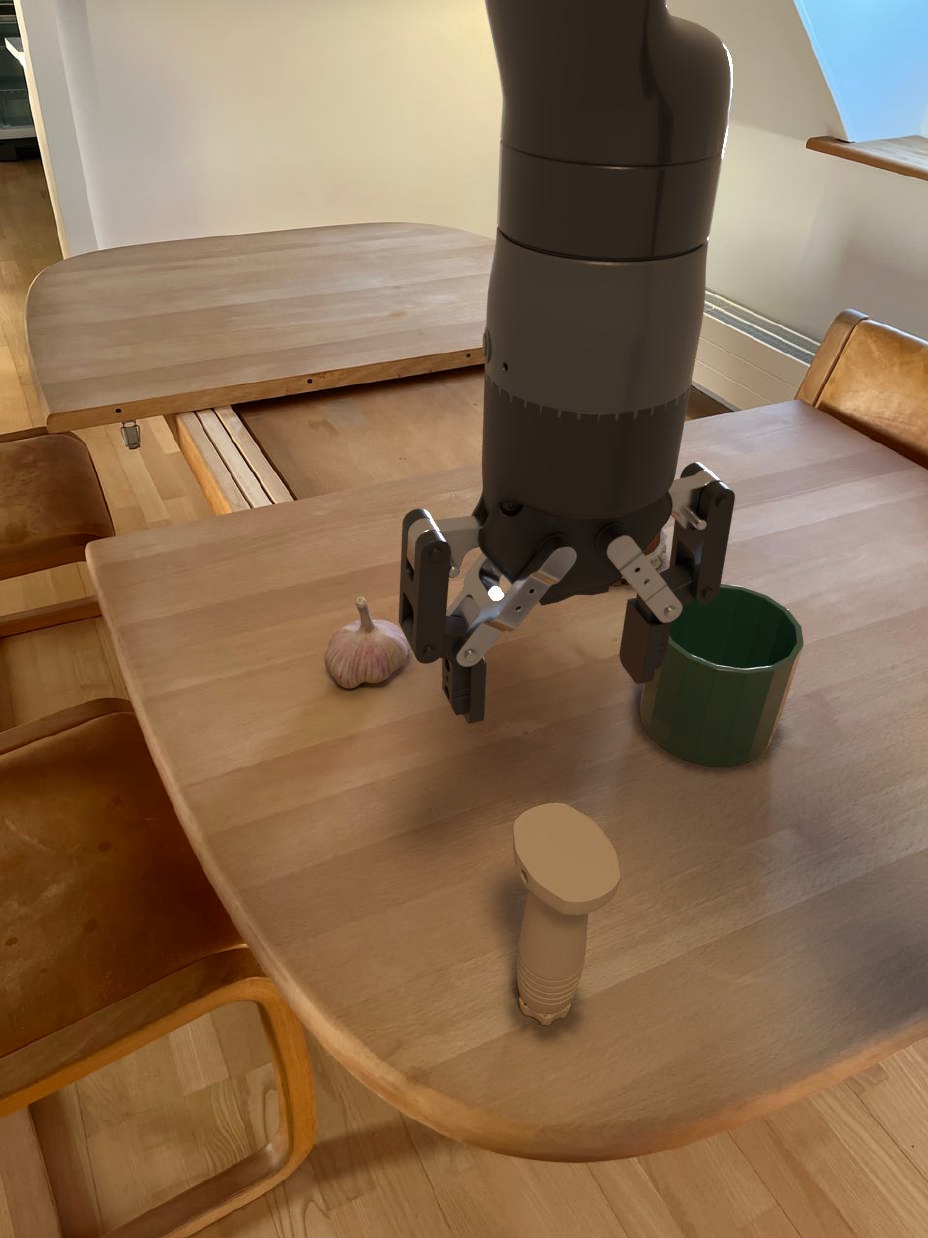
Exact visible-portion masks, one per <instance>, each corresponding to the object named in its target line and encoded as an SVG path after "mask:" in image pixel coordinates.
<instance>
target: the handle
mask: <svg viewBox="0 0 928 1238" xmlns="http://www.w3.org/2000/svg"><path fill="white" fill-rule="evenodd" d="M512 849H513V850H512V851H513V858H514V864H515V867H516V870H517V872H518V875H519V878H520V880H521V882H522V884H523V886H524V887H525V888H526V889H527V890H528V893H527V899H526V904H525V909H524V912H523V918H522V922H521V927H520V932H519V937H518V942H517V952H516V980H517V981H516V982H517V987H518V992H519V995H520V996H519V998H518V1003H519V1007H520V1010H521V1012H522V1014H523V1015H525V1016H527V1017H528V1016H529V1017H532V1018H533V1019H536V1020H537V1021H538V1022H539V1023H540V1024H541V1025H542V1026H550V1025H551V1024H552V1022H553V1021H555V1020H557V1019H564V1018H565V1017H567V1015H568V1014H569V1011H570V1010H571V1006H572V1004H571V1002H572V1000H573V998H574V996H575V995H576V992H577V990H578V987H579V984H580V981H581V977H582V973H583V969H584V964H585V958H586V951H587V950H586V949H587V935H588V923H589V922H588V921H589V914H590V913H593V912H596V911H598V910H600V909H602V908H603V907H605V906H606V905H607V904H609V903H610V902H611V901H612V900H613V898H614V897H615V896H616V893H617V892H618V890H619V886H620V881H621V874H620V866H619V861H618V855H617V853H616V850H615V847H614V846H613V843H611V840H610V839H609V838H608V837H607V835H606V834H605V833H604V831H603V830H602V829H601V827H600V826H598V824H597V823H596V822H595V821H594V820H592V819H591V818H590V817H589V816H587V815H586V814H584V813H582V812H581V811H580V810H579V811H578V810H577V809H575V807H572V806H570V805H569V804H567V803H561V802H548V803H542V804H540V805H539V804H538V805H536V806H533V807H531V808H529V809H527V810H526V811H524V812H523V813H520V815H519V816H518V817H517V818H516V819H515V821H514V823H513V825H512Z"/></svg>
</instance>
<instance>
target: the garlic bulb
mask: <svg viewBox="0 0 928 1238" xmlns="http://www.w3.org/2000/svg"><path fill="white" fill-rule="evenodd" d="M354 602H355V603H354V604H355V606H356V609H357V611H358V613H359V616H360V619H359V620H353V621H350V622H348V623H346V624H345V625H344V626H343V627H341V628H339V629H338V630H336V631H335V632H334V633H333V634H332V636H331V637H330V639H329V642H328V647H327V649H326V651H325V654H324V666H325V668H326V670H327V671H328V672H329V673H330V674H331V675H332V676H333V678H334V680H335V682H336V683H337V684H338V685H339V686H340V687H342V688H345V689H354V688H356V687H358V686H359V685H361V684H363V683H370V684H378V683H381V682H384V681H386V680H387V679H388V678H389V677H390V676H391V675H392V673H394V672H395V671H397V670H399V669H400V668H401V667H402V666H403V665H404V664H405V663H406V662H407V661H408V660H409V658H410V656H411V653H412V652H411V651H412V649H411V647H410V645H409V643H408V641H407V639H406V637H405V635H404V633H403V630H402V628H401V627H399V626H398V625H397V624H395V623H393V622H390V621H388V620H385V619H373V618H372V616H371V614H370V613H371V612H370V609H369V604H368V602H367V600H366V598H365V597H364V596H357V598H355V601H354Z"/></svg>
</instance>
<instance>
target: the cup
mask: <svg viewBox="0 0 928 1238" xmlns="http://www.w3.org/2000/svg"><path fill="white" fill-rule="evenodd" d="M803 635H804V634H803V628H802V626H801V624H800V623H799V621H798V620H797V619H796V618H795V616H794V615H793V613H791V610H789V609H788V608H787V607H785V606H784V605H782V604H781V603H779V602H778V601H776V600H774V599H773V598H772V597H770V596H768V595H767V594H764V593H762V592H758V591H756V590H753V589H751V588H748V587H744V586H741V585H735V584H726V583H721V586H720V591H719V594H718V596H717V597H716V598H715V599H714V600H713V601H711V602H710V603H707V604H699V603H698V602H697V601H696V600H695V601H693V602H691V603H689V604H687V605H685V606H684V607H682V612H681V614H680V615H679V616H678V617H677V618H676V619H675V620H673V621H672V625H671V630H670V635H669V640H668V643H667V644H668V645H667V649H666V656H665V660H664V662H663V663H662V665H661V667H660V668H659V669H655V674H654V679H653V681H650V682H646V683H642V689H641V696H640V704H639V716H640V720H641V723H642V725H643V727H644V729H645V731H646V733H647V734H648V735H649V737H650V738H651V739H652V740H653V742H655V743H656V744H657V745H658V746H659V747H661V748H662V749H664V750H665V751H666V752H668V753H669V754H671V755H673V756H675V757H677V758H679V759H681V760H683V761H687V762H690V763H693V764H696V765H701V766H705V767H706V766H707V767H713V768H714V767H715V768H727V767H735V766H736V767H737V766H741V765H744V764H747V763H750V762H752V761H755V760H756V759H758V758H759V757H760V756H761V755H763V754H764V753H765V752H766V751H767V750H768V748H769V747H770V746H771V744H772V740H773V738H774V735H775V733H776V732H777V730H778V726H779V723H780V720H781V717H782V714H783V711H784V707H785V705H786V701H787V698H788V695H789V692H790V689H791V686H792V682H793V679H794V677H795V674H796V671H797V667H798V664H799V661H800V658H801V655H802V652H803V649H804V645H805V643H804V636H803Z"/></svg>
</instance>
